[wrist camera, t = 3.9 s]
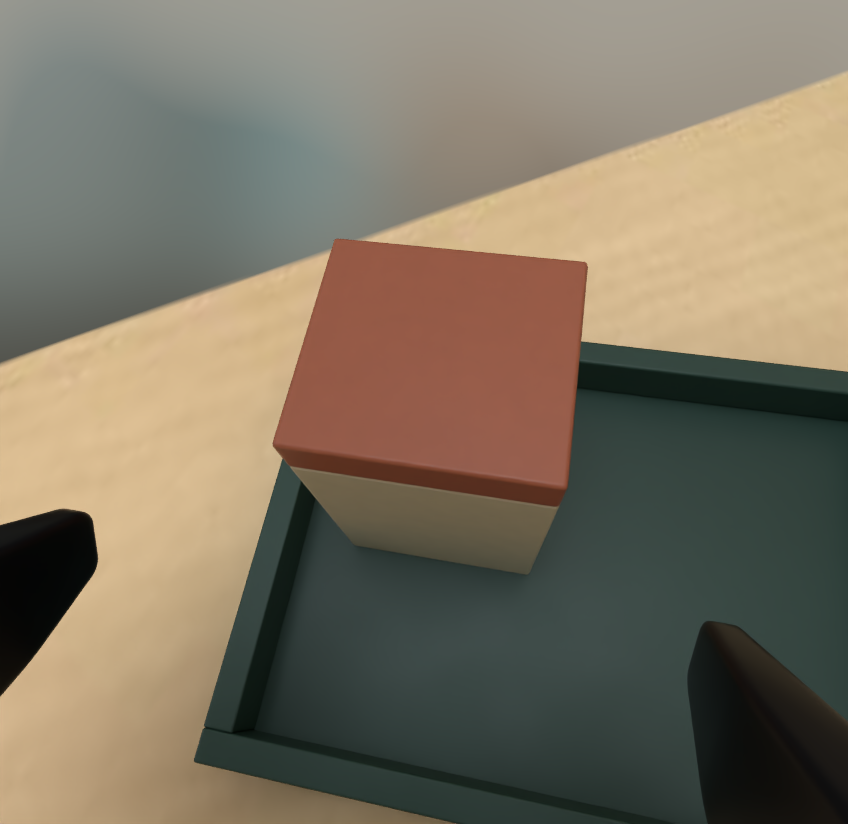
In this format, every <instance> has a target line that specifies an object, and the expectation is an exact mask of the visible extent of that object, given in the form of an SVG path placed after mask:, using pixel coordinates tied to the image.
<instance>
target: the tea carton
mask: <svg viewBox="0 0 848 824" xmlns="http://www.w3.org/2000/svg"><path fill="white" fill-rule="evenodd" d="M587 270H588V266H587V263H585V262H579V261H568V260H558V259H547V258H537V257H526V256H516V255H505V254H495V253H484V252H473V251H463V250H452V249H442V248H431V247H421V246H410V245H400V244H389V243H379V242H368V241H357V240H347V239H335V241H334V243H333V247H332V250H331V253H330V257H329V260H328V263H327V266H326V270H325V273H324V276H323V279H322V283H321V286H320V289H319V293H318V296H317V299H316V302H315V306H314V309H313V312H312V315H311V319H310V322H309V325H308V329H307V332H306V335H305V338H304V342H303V345H302V348H301V352H300V355H299V358H298V361H297V365H296V368H295V371H294V374H293V378H292V381H291V384H290V388H289V391H288V394H287V397H286V401H285V404H284V407H283V410H282V414H281V417H280V420H279V424H278V427H277V430H276V433H275V437H274V440H273V447H274V448H275V449H276V451H277V452H278V453H279V454H280V455H281V457H282V458H283V459H284V460H285V462H286V463H287V464H288V465H289V466H290V467H291V469H292V470H293V471H294V473H295V474H296V475H297V476H298V477H299V479H300V480H301V481H302V482H303V484H304V485H305V486H306V487H307V488H308V490H309V491H310V492H311V493H312V494H313V496H314V497H315V498H316V499H317V501H318V502H319V503H320V504H321V505H322V507H323V508H324V509H325V510H326V512H327V513H328V514H329V515H330V516H331V518H332V519H333V520H334V521H335V523H336V524H337V525H338V526H339V527H340V529H341V530H342V531H343V532H344V534H345V535H346V536H347V537H348V538H349V540H350V541H351V542H352V543H353V544H354V545H355V546H361V547H367V548H373V549H379V550H384V551H390V552H396V553H402V554H408V555H414V556H420V557H426V558H431V559H437V560H443V561H449V562H455V563H461V564H467V565H472V566H478V567H484V568H490V569H496V570H502V571H508V572H514V573H519V574H525V575H527V574H529V573H530V571H531V568H532V566H533V564H534V562H535V559H536V557H537V555H538V553H539V550H540V548H541V546H542V544H543V541H544V539H545V537H546V535H547V533H548V530H549V528H550V526H551V524H552V521H553V519H554V517H555V515H556V512H557V510H558V508H559V506H560V503H561V501H562V499H563V497H564V494H565V492H566V490H567V488H568V481H569V470H570V459H571V448H572V437H573V426H574V415H575V404H576V392H577V381H578V370H579V359H580V348H581V337H582V326H583V315H584V304H585V292H586V281H587Z"/></svg>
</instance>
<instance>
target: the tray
mask: <svg viewBox="0 0 848 824" xmlns="http://www.w3.org/2000/svg"><path fill="white" fill-rule="evenodd" d="M706 621H715V622H721V623H727V624H732V625H736V626H738V627H740V628H741V629H743V630H744V631H745V632H746V633H747V634H748V635H749V636H751V637H752V638H753V639H754V640H755V641H756V642H757V643H759V644H760V645H761V646H762V647H763V648H764V649H765V650H767V651H768V652H769V653H770V654H771V655H772V656H773V657H775V658H776V659H777V660H778V661H779V662H780V663H782V664H783V665H784V666H785V667H786V668H787V669H788V670H790V671H791V672H792V673H793V674H794V675H795V676H796V677H798V678H799V679H800V680H801V681H802V682H803V683H804V684H806V685H807V686H808V687H809V688H810V689H811V690H812V691H814V692H815V693H816V694H817V695H818V696H819V697H820V698H822V699H823V700H824V701H825V702H826V703H827V704H828V705H830V706H831V707H832V708H833V709H834V710H835V711H836V712H838V713H839V714H840V715H841V716H842V717H843V718H845V719H846V720H847V721H848V372H845V371H836V370H827V369H818V368H810V367H801V366H792V365H783V364H774V363H765V362H757V361H748V360H739V359H730V358H721V357H713V356H704V355H695V354H686V353H677V352H669V351H660V350H651V349H642V348H633V347H625V346H616V345H607V344H598V343H589V342H581V348H580V359H579V370H578V381H577V392H576V404H575V415H574V426H573V437H572V448H571V459H570V470H569V481H568V488H567V490H566V492H565V494H564V497H563V499H562V501H561V503H560V506H559V508H558V510H557V512H556V515H555V517H554V519H553V521H552V524H551V526H550V528H549V530H548V533H547V535H546V537H545V539H544V541H543V544H542V546H541V548H540V550H539V553H538V555H537V557H536V559H535V562H534V564H533V566H532V568H531V571H530V573H529V574H527V575H525V574H519V573H514V572H508V571H502V570H496V569H490V568H484V567H478V566H472V565H467V564H461V563H455V562H449V561H443V560H437V559H431V558H426V557H420V556H414V555H408V554H402V553H396V552H390V551H384V550H379V549H373V548H367V547H361V546H355V545H354V544H353V543H352V542H351V541H350V540H349V538H348V537H347V536H346V535H345V534H344V532H343V531H342V530H341V529H340V527H339V526H338V525H337V524H336V523H335V521H334V520H333V519H332V518H331V516H330V515H329V514H328V513H327V512H326V510H325V509H324V508H323V507H322V505H321V504H320V503H319V502H318V501H317V499H316V498H315V497H314V496H313V494H312V493H311V492H310V491H309V490H308V488H307V487H306V486H305V485H304V484H303V482H302V481H301V480H300V479H299V477H298V476H297V475H296V474H295V473H294V471H293V470H292V469H291V467H290V466H289V465H288V464H287V463H286V462H285V460H284V459H282V462H281V466H280V469H279V473H278V476H277V479H276V483H275V486H274V490H273V493H272V496H271V500H270V503H269V507H268V510H267V513H266V517H265V520H264V523H263V527H262V530H261V534H260V537H259V540H258V544H257V547H256V551H255V554H254V557H253V561H252V564H251V568H250V571H249V574H248V578H247V581H246V585H245V588H244V591H243V595H242V598H241V602H240V605H239V608H238V612H237V615H236V618H235V622H234V625H233V629H232V632H231V635H230V639H229V642H228V646H227V649H226V652H225V656H224V659H223V663H222V666H221V669H220V673H219V676H218V680H217V683H216V686H215V690H214V693H213V697H212V700H211V703H210V707H209V710H208V713H207V717H206V720H205V724H204V727H206V728H204V729H203V731H202V734H201V738H200V741H199V744H198V748H197V751H196V755H195V758H194V762H195V763H199V764H204V765H208V766H212V767H216V768H221V769H225V770H229V771H234V772H238V773H242V774H246V775H251V776H255V777H259V778H264V779H268V780H272V781H276V782H281V783H285V784H289V785H294V786H298V787H302V788H306V789H311V790H315V791H319V792H324V793H328V794H332V795H336V796H341V797H345V798H349V799H354V800H358V801H362V802H367V803H371V804H375V805H379V806H384V807H388V808H392V809H397V810H401V811H405V812H409V813H414V814H418V815H422V816H427V817H431V818H435V819H439V820H444V821H448V822H452V823H457V824H708V823H707V819H706V814H705V809H704V805H703V799H702V793H701V786H700V779H699V771H698V764H697V756H696V749H695V741H694V733H693V726H692V718H691V710H690V703H689V695H688V687H687V674H688V668H689V664H690V661H691V657H692V654H693V651H694V647H695V644H696V640H697V637H698V634H699V630H700V628H701V626H702V625H703V623H704V622H706Z"/></svg>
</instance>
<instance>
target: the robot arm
mask: <svg viewBox="0 0 848 824" xmlns="http://www.w3.org/2000/svg"><path fill="white" fill-rule="evenodd" d="M97 563H98V554H97V547H96V540H95V533H94V526H93V521H92V518H91V517H90V515H89V514H87V513H85V512H81V511H75V510H70V509H58V510H54V511H50V512H47V513H43V514H40V515H36V516H32V517H29V518H25V519H21V520H18V521H14V522H10V523H7V524H3V525H0V696H1V695H2V694H3V693H4V692H5V690H6V689H7V688H8V687H9V686H10V685H11V684H12V682H13V681H14V680H15V679H16V678H17V677H18V675H19V674H20V673H21V672H22V671H23V669H24V668H25V667H26V666H27V665H28V663H29V662H30V661H31V660H32V658H33V657H34V656H35V654H36V653H37V652H38V650H39V649H40V648H41V647H42V645H43V644H44V642H45V641H46V640H47V638H48V637H49V635H50V634H51V633H52V631H53V630H54V629H55V627H56V626H57V624H58V623H59V622H60V620H61V619H62V617H63V616H64V615H65V613H66V612H67V610H68V609H69V608H70V606H71V605H72V603H73V602H74V601H75V599H76V598H77V596H78V595H79V594H80V592H81V591H82V589H83V588H84V587H85V585H86V584H87V582H88V581H89V580H90V578H91V577H92V575H93V574H94V572H95V570H96V567H97ZM687 687H688V695H689V703H690V710H691V718H692V726H693V733H694V741H695V749H696V756H697V764H698V771H699V779H700V786H701V793H702V799H703V805H704V809H705V814H706V819H707V823H708V824H848V721H847V720H846V719H845V718H843V717H842V716H841V715H840V714H839V713H838V712H836V711H835V710H834V709H833V708H832V707H831V706H830V705H828V704H827V703H826V702H825V701H824V700H823V699H822V698H820V697H819V696H818V695H817V694H816V693H815V692H814V691H812V690H811V689H810V688H809V687H808V686H807V685H806V684H804V683H803V682H802V681H801V680H800V679H799V678H798V677H796V676H795V675H794V674H793V673H792V672H791V671H790V670H788V669H787V668H786V667H785V666H784V665H783V664H782V663H780V662H779V661H778V660H777V659H776V658H775V657H773V656H772V655H771V654H770V653H769V652H768V651H767V650H765V649H764V648H763V647H762V646H761V645H760V644H759V643H757V642H756V641H755V640H754V639H753V638H752V637H751V636H749V635H748V634H747V633H746V632H745V631H744V630H743V629H741V628H740V627H738V626H736V625H732V624H727V623H721V622H715V621H706V622H704V623H703V625H702V626H701V628H700V630H699V634H698V637H697V640H696V644H695V647H694V651H693V654H692V657H691V661H690V664H689V668H688V674H687Z"/></svg>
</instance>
